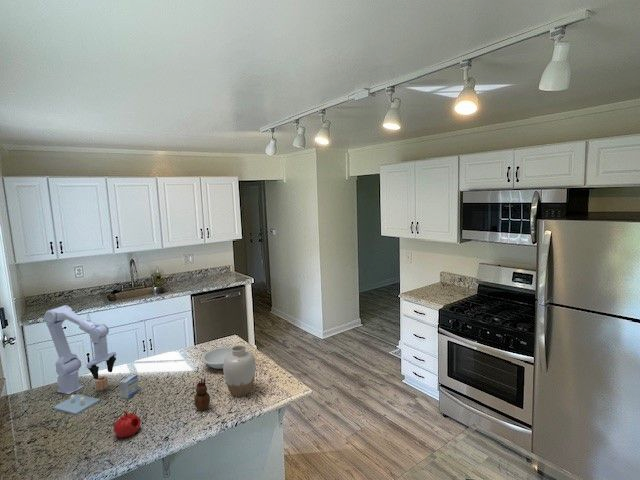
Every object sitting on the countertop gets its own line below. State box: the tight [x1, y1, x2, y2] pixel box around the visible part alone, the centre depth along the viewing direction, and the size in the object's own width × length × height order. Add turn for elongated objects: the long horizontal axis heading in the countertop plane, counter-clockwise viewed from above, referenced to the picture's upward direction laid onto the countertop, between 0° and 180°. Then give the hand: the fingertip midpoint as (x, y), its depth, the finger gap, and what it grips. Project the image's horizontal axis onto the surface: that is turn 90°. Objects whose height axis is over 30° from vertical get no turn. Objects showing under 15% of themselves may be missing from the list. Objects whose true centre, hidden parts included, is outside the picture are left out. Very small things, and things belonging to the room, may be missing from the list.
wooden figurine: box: [193, 377, 211, 411], centre depth 162 cm, size 7×6×15 cm
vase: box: [222, 344, 257, 398], centre depth 175 cm, size 16×16×23 cm
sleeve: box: [94, 375, 109, 393], centre depth 182 cm, size 5×5×6 cm
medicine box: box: [118, 374, 140, 399], centre depth 176 cm, size 8×4×9 cm, turn 168°
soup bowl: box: [201, 345, 235, 370], centre depth 205 cm, size 24×24×7 cm
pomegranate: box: [113, 410, 142, 438], centre depth 146 cm, size 10×10×9 cm
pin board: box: [52, 393, 101, 416], centre depth 168 cm, size 16×12×4 cm
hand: (103, 375), depth 178 cm, fingers open, 7 cm apart
